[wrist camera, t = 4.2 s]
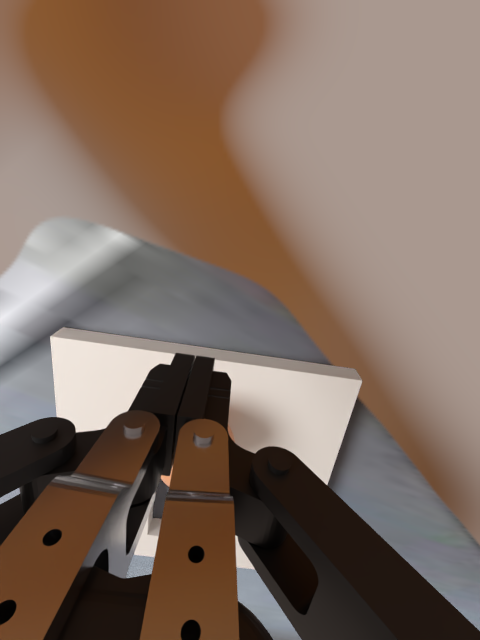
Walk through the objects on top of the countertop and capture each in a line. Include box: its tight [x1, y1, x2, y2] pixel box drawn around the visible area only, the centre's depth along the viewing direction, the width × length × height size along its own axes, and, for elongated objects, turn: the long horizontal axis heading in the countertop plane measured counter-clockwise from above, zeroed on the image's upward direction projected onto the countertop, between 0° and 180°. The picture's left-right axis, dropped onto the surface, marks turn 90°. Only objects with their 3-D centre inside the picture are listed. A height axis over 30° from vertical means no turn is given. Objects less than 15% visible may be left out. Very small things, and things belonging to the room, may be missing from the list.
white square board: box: [50, 327, 362, 569], centre depth 24 cm, size 20×20×2 cm
